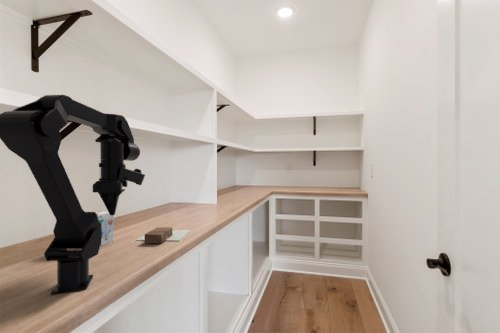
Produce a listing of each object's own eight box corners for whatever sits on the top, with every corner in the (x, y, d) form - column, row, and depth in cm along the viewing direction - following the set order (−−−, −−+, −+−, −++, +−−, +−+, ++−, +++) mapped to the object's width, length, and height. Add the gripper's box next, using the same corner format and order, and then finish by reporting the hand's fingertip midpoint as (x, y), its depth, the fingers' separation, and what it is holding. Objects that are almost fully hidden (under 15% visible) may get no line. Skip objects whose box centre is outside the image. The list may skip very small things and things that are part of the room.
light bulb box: (89, 251, 78) (89, 217, 78) (72, 249, 79) (71, 216, 79) (114, 241, 88) (114, 211, 88) (98, 240, 90) (98, 210, 90)
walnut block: (161, 234, 84) (172, 227, 94) (144, 234, 85) (157, 227, 95) (161, 243, 84) (172, 235, 94) (144, 243, 85) (157, 235, 95)
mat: (179, 241, 88) (179, 240, 88) (135, 240, 88) (135, 239, 88) (191, 231, 102) (191, 230, 102) (153, 230, 102) (153, 230, 102)
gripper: (142, 158, 64) (142, 219, 63) (144, 160, 81) (144, 208, 81) (92, 158, 59) (92, 222, 59) (105, 160, 77) (105, 210, 77)
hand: (112, 215), depth 69 cm, fingers closed
